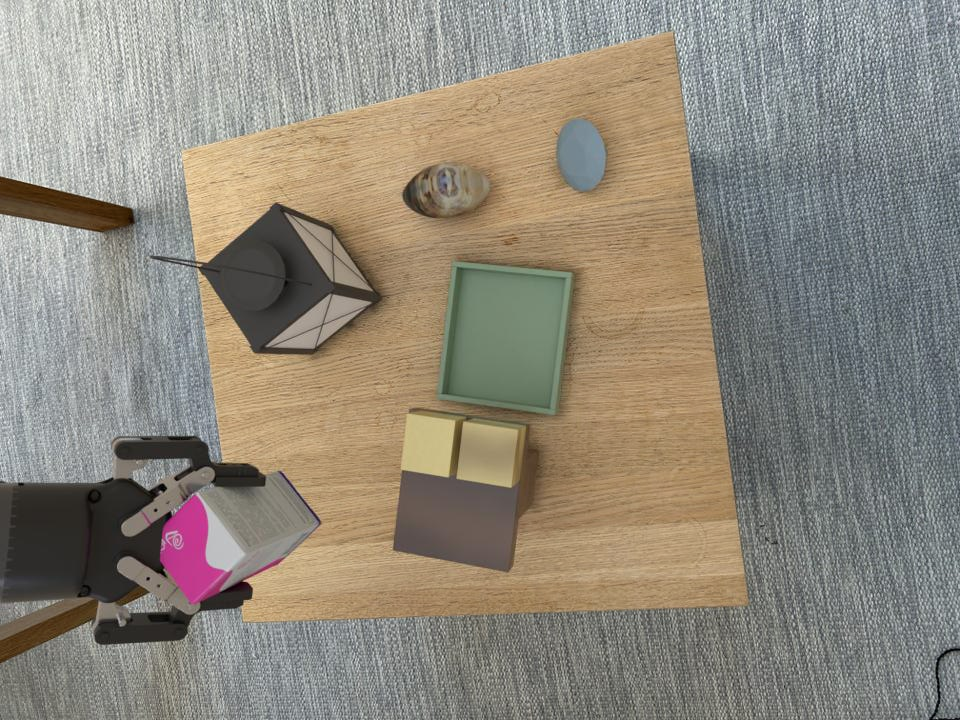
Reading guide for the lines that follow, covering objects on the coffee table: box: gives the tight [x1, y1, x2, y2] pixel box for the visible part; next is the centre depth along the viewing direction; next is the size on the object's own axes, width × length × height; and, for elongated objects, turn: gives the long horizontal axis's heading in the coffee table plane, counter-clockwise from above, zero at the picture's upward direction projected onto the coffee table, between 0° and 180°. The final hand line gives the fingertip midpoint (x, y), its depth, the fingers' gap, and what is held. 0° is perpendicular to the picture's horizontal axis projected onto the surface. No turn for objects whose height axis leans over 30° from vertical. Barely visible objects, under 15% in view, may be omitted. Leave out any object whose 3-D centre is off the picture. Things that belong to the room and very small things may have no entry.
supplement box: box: [160, 470, 323, 605], centre depth 58 cm, size 6×6×12 cm
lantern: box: [149, 202, 383, 356], centre depth 77 cm, size 11×11×28 cm
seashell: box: [401, 162, 491, 219], centre depth 83 cm, size 10×6×8 cm, turn 98°
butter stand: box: [392, 407, 540, 573], centre depth 73 cm, size 12×10×26 cm
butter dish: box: [435, 260, 576, 416], centre depth 84 cm, size 15×13×3 cm
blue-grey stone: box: [555, 117, 608, 193], centre depth 82 cm, size 8×8×5 cm
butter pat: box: [400, 411, 466, 477], centre depth 62 cm, size 4×4×4 cm
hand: (256, 534), depth 57 cm, fingers closed on supplement box, 8 cm apart
